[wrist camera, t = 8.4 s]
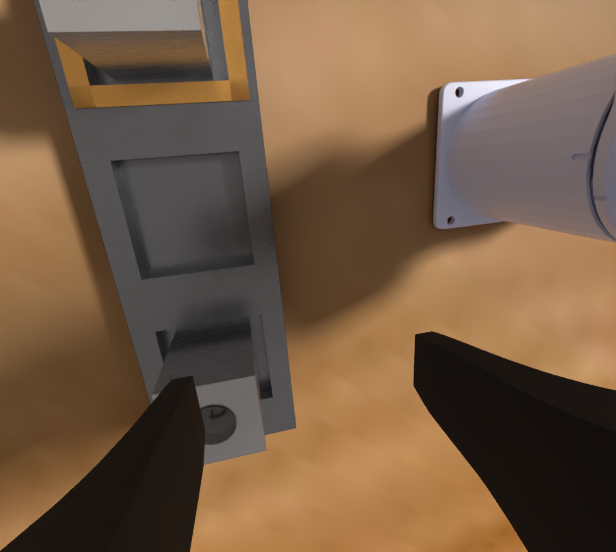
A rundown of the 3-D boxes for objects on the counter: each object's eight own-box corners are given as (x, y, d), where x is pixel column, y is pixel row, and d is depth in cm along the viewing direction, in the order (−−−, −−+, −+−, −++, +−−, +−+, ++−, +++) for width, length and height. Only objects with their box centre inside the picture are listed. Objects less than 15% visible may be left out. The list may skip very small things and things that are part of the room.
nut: (249, 320, 19) (254, 377, 14) (258, 380, 21) (266, 451, 15) (175, 332, 18) (151, 396, 13) (189, 393, 20) (173, 473, 15)
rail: (228, -138, 14) (226, -184, 12) (291, 408, 23) (296, 429, 21) (9, -154, 12) (-29, -208, 10) (171, 434, 21) (165, 458, 20)
